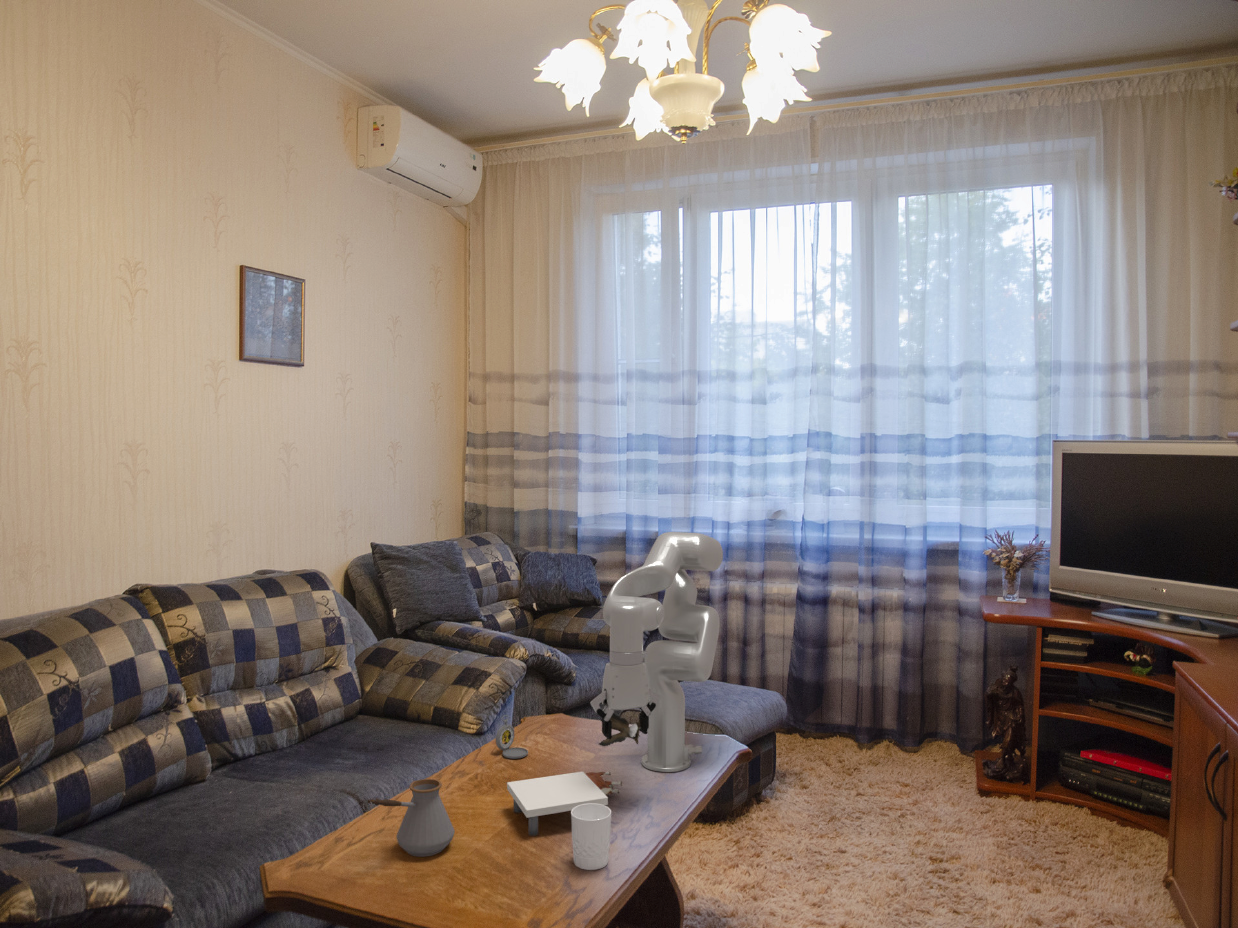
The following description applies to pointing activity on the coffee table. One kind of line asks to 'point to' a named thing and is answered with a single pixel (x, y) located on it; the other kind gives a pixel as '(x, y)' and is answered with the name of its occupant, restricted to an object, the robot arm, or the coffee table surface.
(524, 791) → the display shelf
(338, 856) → the coffee table surface
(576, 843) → the white cup
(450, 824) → the coffee pot
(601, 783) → the bull figurine
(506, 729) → the pocket watch
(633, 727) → the eagle figurine
